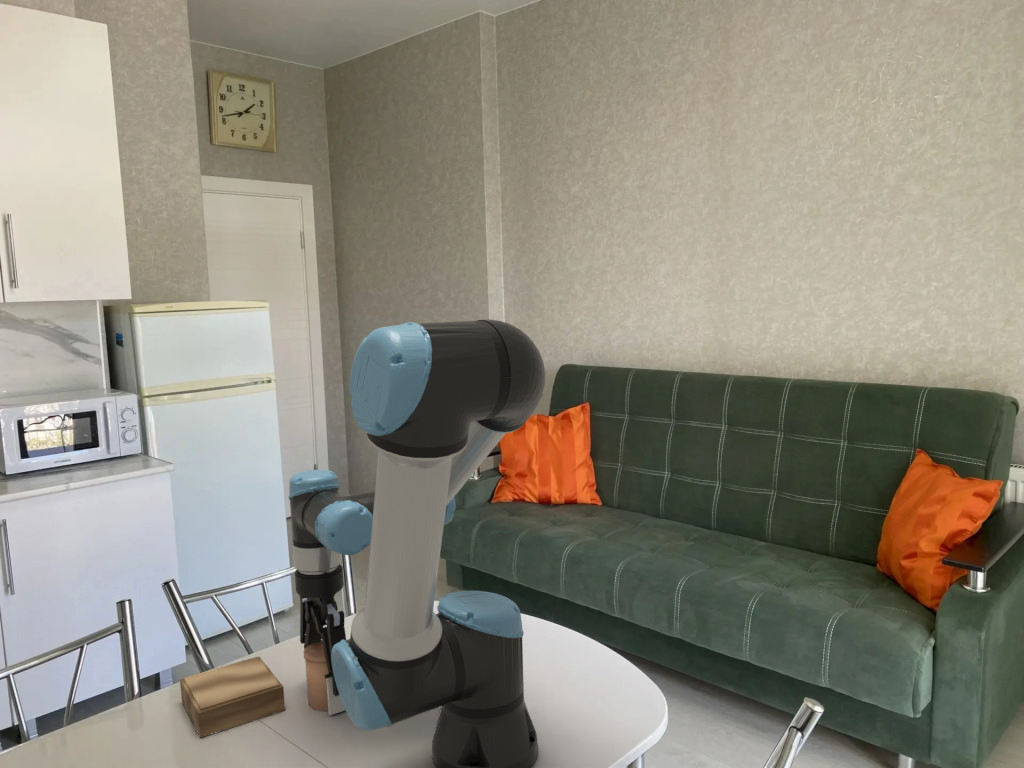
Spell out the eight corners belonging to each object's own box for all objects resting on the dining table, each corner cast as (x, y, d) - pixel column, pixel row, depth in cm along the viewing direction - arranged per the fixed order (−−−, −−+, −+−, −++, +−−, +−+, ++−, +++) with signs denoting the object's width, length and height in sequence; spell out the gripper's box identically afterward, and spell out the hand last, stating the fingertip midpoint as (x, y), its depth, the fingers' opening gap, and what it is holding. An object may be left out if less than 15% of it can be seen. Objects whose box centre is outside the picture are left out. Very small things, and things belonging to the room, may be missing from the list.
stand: (284, 710, 125) (283, 684, 124) (200, 738, 117) (198, 711, 117) (260, 678, 135) (259, 654, 135) (182, 702, 128) (179, 677, 128)
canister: (353, 703, 126) (350, 650, 125) (315, 716, 123) (311, 662, 122) (338, 687, 131) (335, 636, 130) (301, 699, 128) (298, 647, 127)
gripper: (367, 580, 118) (375, 720, 120) (317, 545, 135) (324, 667, 138) (320, 592, 113) (329, 737, 116) (274, 554, 131) (283, 680, 134)
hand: (326, 699), depth 127 cm, fingers open, 8 cm apart
